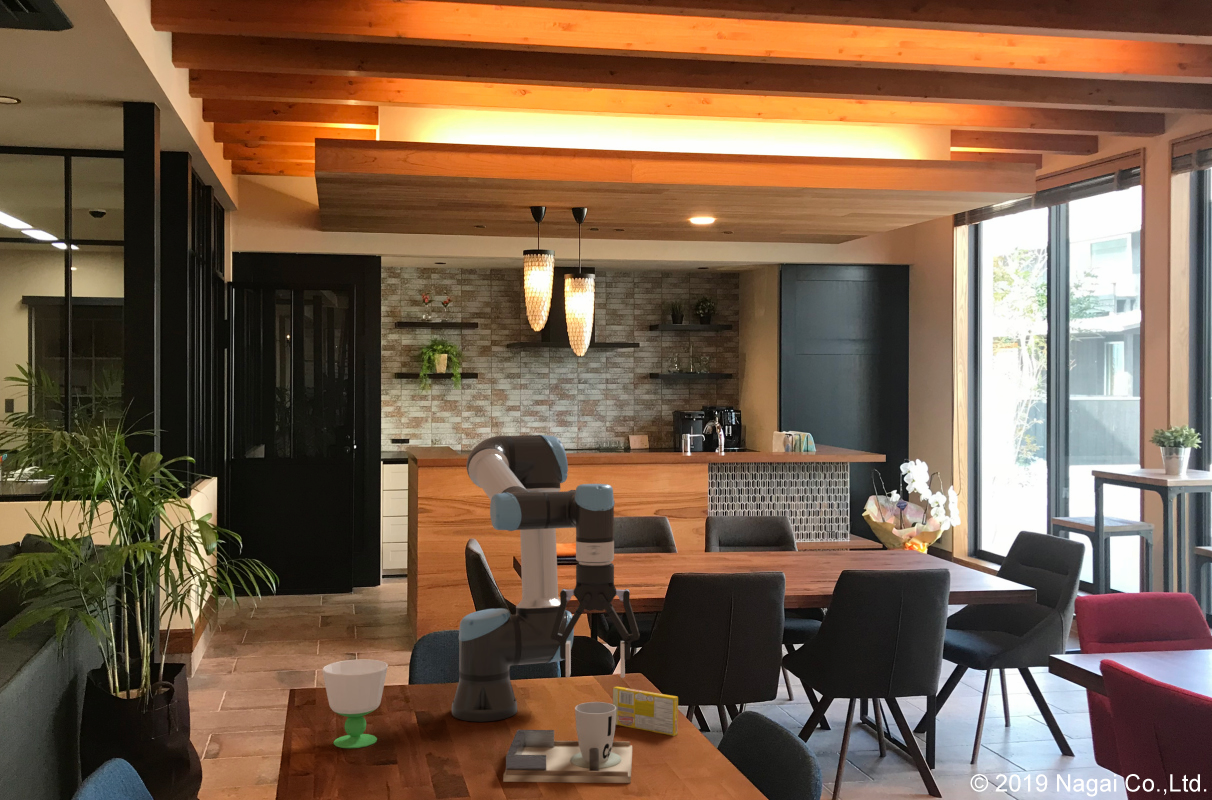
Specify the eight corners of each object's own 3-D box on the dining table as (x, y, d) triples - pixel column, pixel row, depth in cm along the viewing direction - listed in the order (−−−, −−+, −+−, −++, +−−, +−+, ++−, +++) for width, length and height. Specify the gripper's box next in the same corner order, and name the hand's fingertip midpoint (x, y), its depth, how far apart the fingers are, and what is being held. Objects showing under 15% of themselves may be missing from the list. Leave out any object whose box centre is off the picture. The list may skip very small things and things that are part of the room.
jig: (503, 781, 190) (503, 753, 190) (516, 750, 208) (516, 724, 208) (630, 783, 189) (630, 755, 189) (632, 751, 207) (632, 725, 207)
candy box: (679, 734, 218) (678, 696, 218) (674, 737, 216) (673, 698, 216) (617, 722, 227) (617, 685, 227) (611, 724, 225) (611, 687, 226)
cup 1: (333, 731, 221) (333, 659, 221) (395, 731, 220) (395, 659, 221) (313, 752, 207) (313, 674, 207) (379, 752, 207) (379, 675, 207)
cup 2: (611, 767, 193) (611, 714, 193) (570, 764, 195) (570, 712, 195) (619, 753, 201) (619, 703, 201) (580, 750, 203) (580, 700, 203)
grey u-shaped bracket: (506, 773, 190) (506, 756, 191) (517, 745, 207) (517, 729, 207) (546, 773, 190) (546, 756, 190) (554, 745, 206) (554, 730, 207)
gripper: (535, 565, 195) (536, 680, 195) (652, 565, 194) (653, 680, 194) (539, 559, 203) (540, 670, 202) (652, 559, 202) (652, 671, 201)
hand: (595, 675), depth 198 cm, fingers open, 10 cm apart
